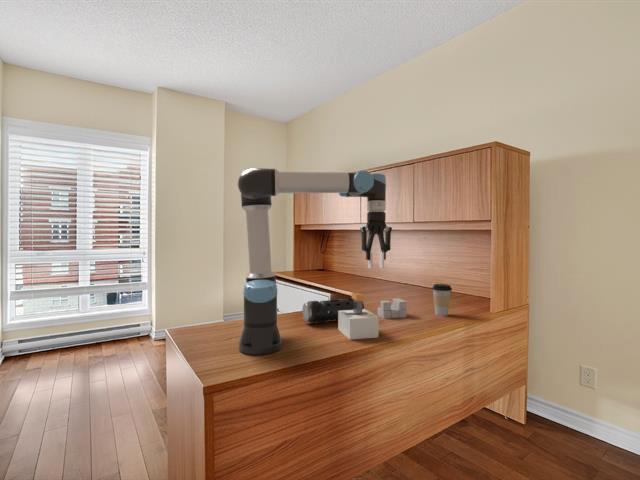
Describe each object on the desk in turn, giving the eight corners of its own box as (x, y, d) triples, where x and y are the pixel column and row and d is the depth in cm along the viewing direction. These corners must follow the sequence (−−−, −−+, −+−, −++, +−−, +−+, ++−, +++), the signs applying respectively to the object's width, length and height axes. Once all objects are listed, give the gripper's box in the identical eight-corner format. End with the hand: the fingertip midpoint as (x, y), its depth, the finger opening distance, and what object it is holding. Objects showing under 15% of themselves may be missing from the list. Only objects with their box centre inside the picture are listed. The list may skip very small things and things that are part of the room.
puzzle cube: (396, 311, 172) (396, 296, 172) (406, 317, 160) (406, 301, 160) (374, 312, 170) (374, 297, 169) (383, 318, 158) (383, 302, 158)
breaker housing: (349, 339, 126) (350, 318, 126) (338, 329, 139) (338, 310, 139) (378, 337, 129) (378, 316, 129) (364, 327, 142) (364, 308, 142)
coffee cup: (433, 311, 172) (433, 283, 172) (452, 313, 168) (452, 284, 167) (430, 315, 163) (431, 285, 163) (451, 317, 159) (451, 287, 159)
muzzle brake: (364, 321, 153) (364, 299, 153) (309, 327, 142) (309, 304, 142) (354, 316, 162) (354, 295, 162) (301, 322, 151) (301, 299, 151)
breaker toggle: (356, 314, 131) (356, 295, 131) (351, 311, 136) (351, 293, 136) (364, 313, 132) (364, 295, 131) (358, 310, 137) (358, 292, 137)
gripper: (360, 210, 129) (359, 269, 130) (399, 211, 134) (399, 268, 134) (353, 211, 137) (352, 267, 137) (391, 212, 141) (390, 266, 142)
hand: (375, 267), depth 136 cm, fingers open, 4 cm apart
